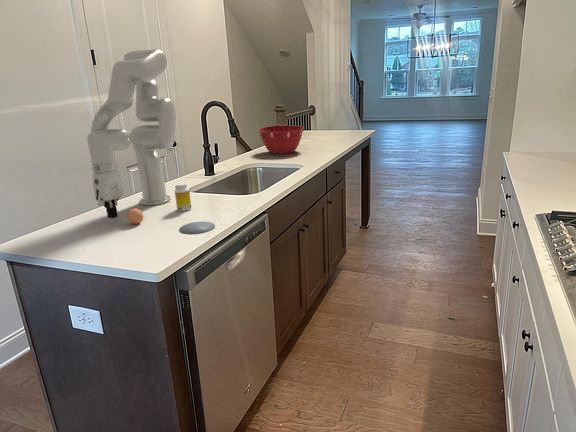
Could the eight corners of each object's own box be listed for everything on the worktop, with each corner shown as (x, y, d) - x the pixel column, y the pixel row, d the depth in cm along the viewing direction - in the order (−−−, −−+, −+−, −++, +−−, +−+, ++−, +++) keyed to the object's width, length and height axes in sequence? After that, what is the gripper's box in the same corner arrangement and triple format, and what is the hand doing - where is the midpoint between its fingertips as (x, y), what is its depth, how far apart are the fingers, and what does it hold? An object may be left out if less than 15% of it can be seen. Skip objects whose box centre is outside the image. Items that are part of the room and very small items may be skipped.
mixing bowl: (313, 152, 276) (312, 127, 271) (273, 158, 262) (271, 132, 258) (290, 147, 299) (289, 124, 294) (252, 152, 286) (250, 128, 281)
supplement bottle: (193, 209, 171) (190, 184, 168) (179, 212, 169) (175, 186, 165) (189, 206, 176) (185, 181, 173) (175, 209, 173) (171, 183, 170)
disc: (183, 223, 156) (183, 222, 156) (217, 221, 156) (216, 220, 156) (175, 235, 145) (175, 234, 145) (212, 233, 145) (212, 232, 145)
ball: (130, 221, 161) (128, 206, 159) (146, 220, 161) (143, 206, 159) (125, 226, 156) (123, 211, 154) (141, 225, 156) (139, 210, 154)
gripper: (97, 172, 147) (107, 224, 152) (126, 163, 160) (134, 211, 166) (79, 172, 149) (89, 223, 155) (109, 163, 163) (118, 210, 168)
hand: (112, 217), depth 160 cm, fingers closed
